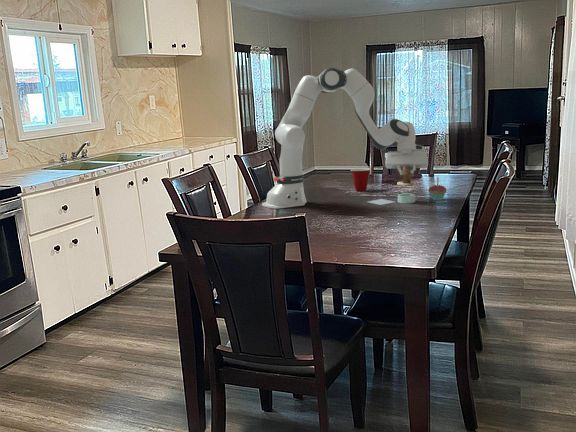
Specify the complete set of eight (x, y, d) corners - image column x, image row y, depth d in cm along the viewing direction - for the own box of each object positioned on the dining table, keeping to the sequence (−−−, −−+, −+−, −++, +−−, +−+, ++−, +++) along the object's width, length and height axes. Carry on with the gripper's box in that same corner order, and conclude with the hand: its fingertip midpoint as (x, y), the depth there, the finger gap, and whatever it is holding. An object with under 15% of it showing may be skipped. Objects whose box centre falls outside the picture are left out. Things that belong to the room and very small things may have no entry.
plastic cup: (370, 188, 314) (370, 166, 312) (371, 192, 304) (371, 169, 301) (350, 188, 315) (350, 167, 313) (350, 192, 305) (350, 170, 302)
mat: (380, 205, 270) (380, 204, 270) (366, 202, 278) (366, 201, 278) (395, 202, 276) (395, 201, 275) (381, 199, 284) (381, 198, 284)
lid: (406, 186, 267) (406, 168, 265) (393, 184, 275) (393, 166, 273) (420, 184, 272) (420, 165, 270) (406, 181, 279) (406, 164, 277)
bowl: (406, 204, 270) (406, 197, 269) (394, 202, 276) (394, 195, 276) (418, 202, 274) (418, 195, 273) (406, 199, 281) (406, 192, 280)
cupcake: (447, 201, 273) (447, 176, 271) (428, 201, 275) (429, 176, 272) (445, 197, 282) (446, 173, 279) (428, 197, 283) (428, 173, 281)
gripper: (384, 147, 278) (384, 170, 271) (427, 146, 274) (428, 169, 267) (385, 155, 283) (384, 178, 276) (427, 154, 279) (428, 177, 272)
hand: (406, 174), depth 272 cm, fingers closed on lid, 3 cm apart
